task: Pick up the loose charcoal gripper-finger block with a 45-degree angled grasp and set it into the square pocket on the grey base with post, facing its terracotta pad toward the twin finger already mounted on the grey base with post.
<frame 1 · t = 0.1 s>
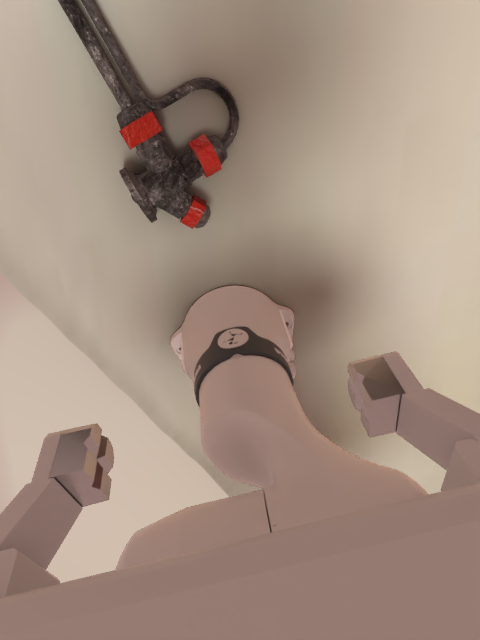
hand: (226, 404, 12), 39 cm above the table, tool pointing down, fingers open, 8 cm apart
valve: (160, 106, 42), on the table
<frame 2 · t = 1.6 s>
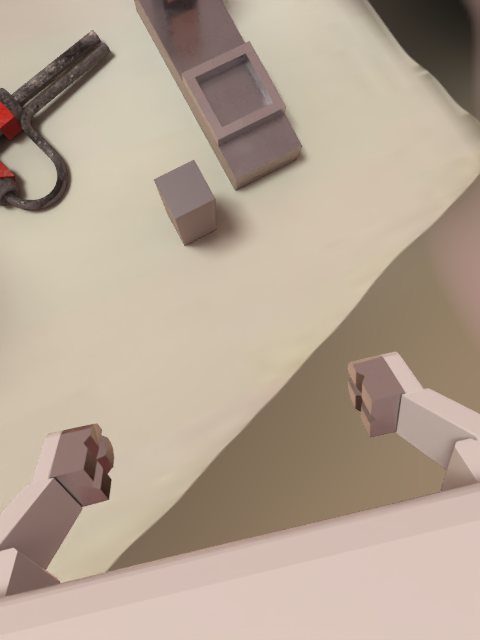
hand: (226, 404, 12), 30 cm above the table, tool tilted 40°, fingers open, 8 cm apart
valve: (35, 140, 43), on the table
grey base with post: (216, 84, 44), on the table
finger block: (192, 222, 43), on the table
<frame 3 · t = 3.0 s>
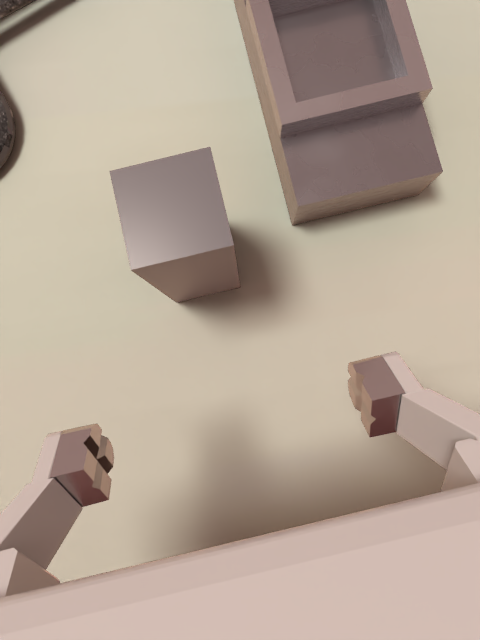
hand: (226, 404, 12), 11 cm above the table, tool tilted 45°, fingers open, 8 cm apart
grey base with post: (306, 35, 25), on the table
finger block: (201, 263, 24), on the table
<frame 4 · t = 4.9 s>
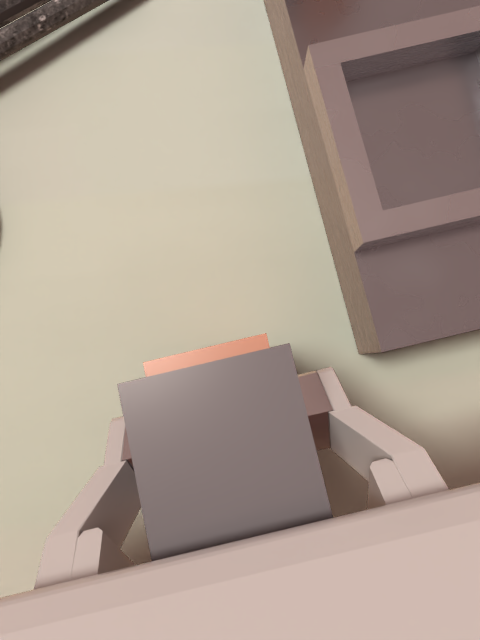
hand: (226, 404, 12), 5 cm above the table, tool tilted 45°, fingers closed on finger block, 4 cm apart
grey base with post: (373, 97, 19), on the table
finger block: (236, 405, 17), on the table, touching gripper
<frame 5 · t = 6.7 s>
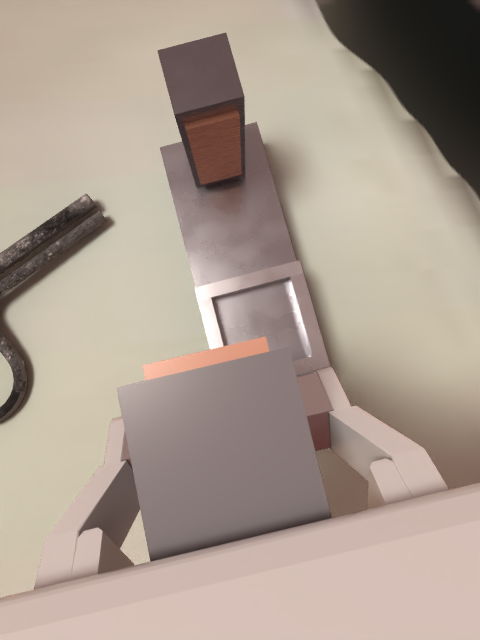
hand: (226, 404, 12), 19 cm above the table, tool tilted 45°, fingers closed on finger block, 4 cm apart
grey base with post: (247, 285, 32), on the table
finger block: (235, 407, 17), point 14 cm above the table, touching gripper
when the fingers open (10 cm above the table, at t = 9.0 s): finger block drops 2 cm, resting on grey base with post.
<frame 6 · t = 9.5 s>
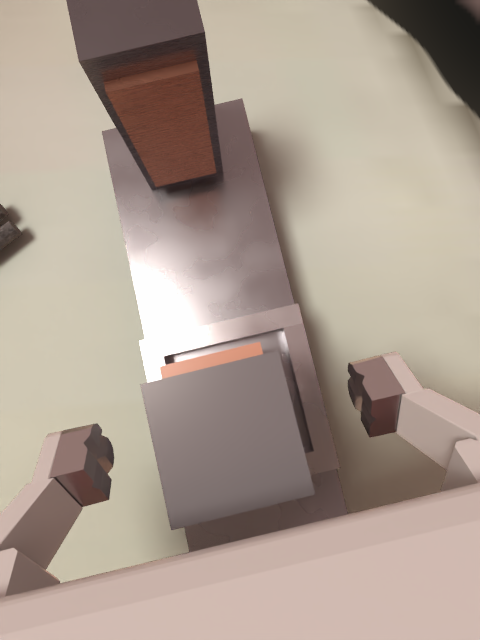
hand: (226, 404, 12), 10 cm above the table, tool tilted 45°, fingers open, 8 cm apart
grey base with post: (224, 329, 23), on the table
finger block: (236, 402, 19), point 3 cm above the table, touching grey base with post
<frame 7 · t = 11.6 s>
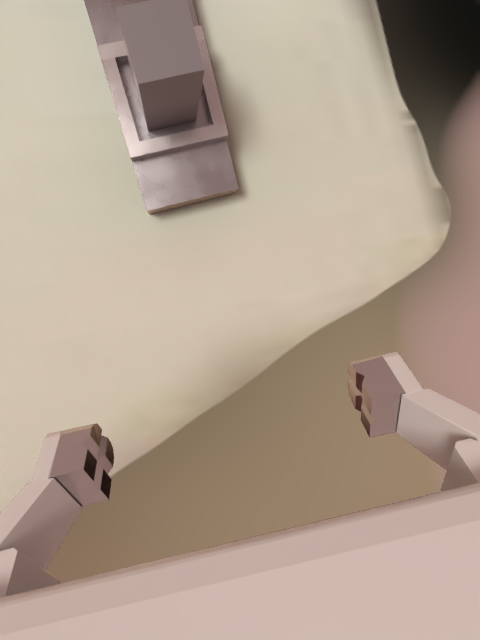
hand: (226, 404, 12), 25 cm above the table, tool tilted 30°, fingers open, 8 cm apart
grey base with post: (153, 62, 33), on the table
finger block: (164, 99, 31), point 3 cm above the table, touching grey base with post
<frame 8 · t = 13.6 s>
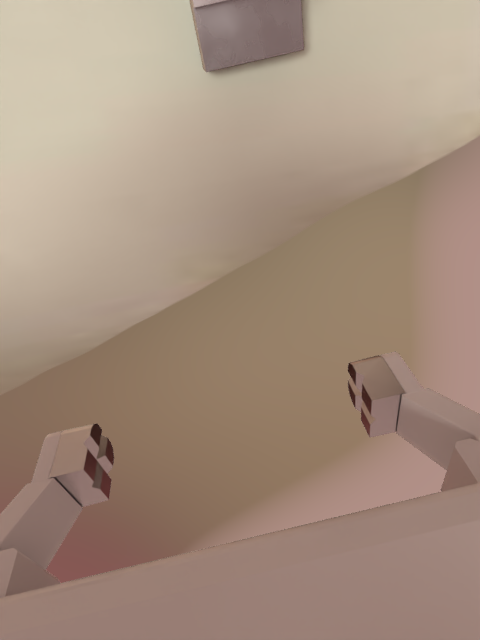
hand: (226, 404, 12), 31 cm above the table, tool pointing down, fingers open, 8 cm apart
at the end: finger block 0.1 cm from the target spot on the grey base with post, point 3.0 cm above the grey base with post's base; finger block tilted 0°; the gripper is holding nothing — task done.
